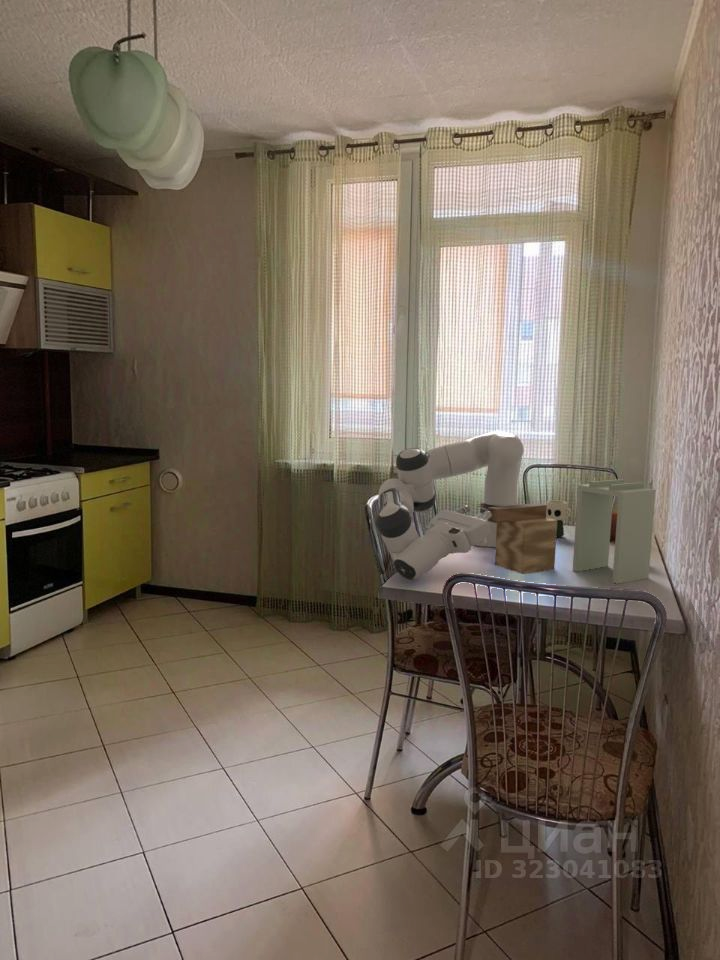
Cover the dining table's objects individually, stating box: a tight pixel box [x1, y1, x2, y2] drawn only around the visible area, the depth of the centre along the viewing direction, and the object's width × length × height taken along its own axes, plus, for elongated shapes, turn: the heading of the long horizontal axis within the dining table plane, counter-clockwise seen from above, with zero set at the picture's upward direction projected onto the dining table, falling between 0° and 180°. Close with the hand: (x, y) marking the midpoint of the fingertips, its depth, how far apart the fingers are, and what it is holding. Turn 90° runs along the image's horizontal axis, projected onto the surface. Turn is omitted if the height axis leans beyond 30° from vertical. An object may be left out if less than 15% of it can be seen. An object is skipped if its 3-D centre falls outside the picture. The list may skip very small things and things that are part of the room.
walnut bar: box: [488, 502, 547, 523], centre depth 215 cm, size 4×20×4 cm, turn 122°
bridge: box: [572, 478, 657, 585], centre depth 211 cm, size 16×14×28 cm
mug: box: [610, 509, 618, 541], centre depth 262 cm, size 12×9×10 cm
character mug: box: [546, 499, 572, 538], centre depth 265 cm, size 11×7×13 cm, turn 54°
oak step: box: [494, 517, 557, 575], centre depth 218 cm, size 12×13×15 cm
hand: (478, 510), depth 207 cm, fingers open, 8 cm apart
